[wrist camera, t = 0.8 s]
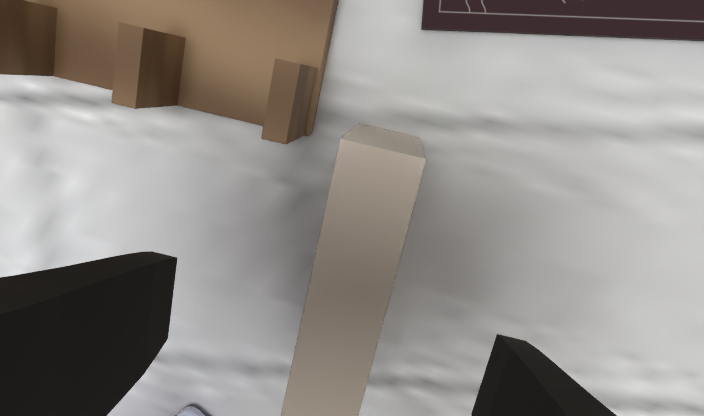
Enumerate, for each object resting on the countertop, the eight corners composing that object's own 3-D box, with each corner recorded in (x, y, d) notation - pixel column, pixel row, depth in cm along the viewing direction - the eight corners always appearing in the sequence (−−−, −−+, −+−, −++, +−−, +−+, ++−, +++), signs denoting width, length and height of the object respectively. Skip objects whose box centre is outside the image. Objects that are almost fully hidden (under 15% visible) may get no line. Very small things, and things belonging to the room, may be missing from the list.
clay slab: (362, 357, 21) (347, 457, 16) (309, 344, 22) (276, 438, 16) (419, 137, 19) (426, 158, 13) (359, 123, 19) (340, 138, 13)
